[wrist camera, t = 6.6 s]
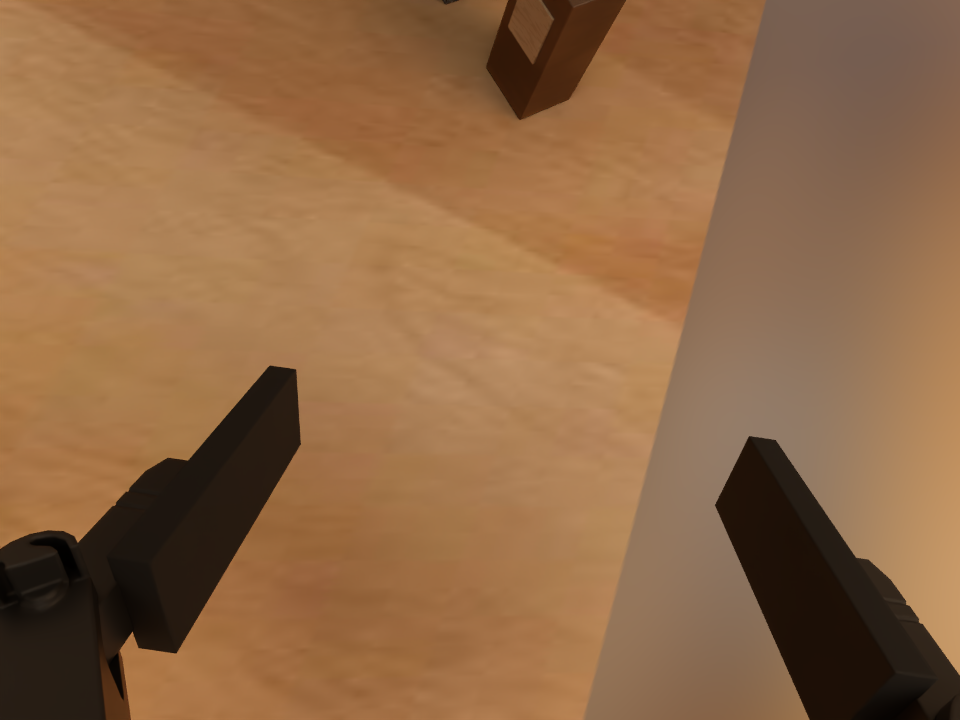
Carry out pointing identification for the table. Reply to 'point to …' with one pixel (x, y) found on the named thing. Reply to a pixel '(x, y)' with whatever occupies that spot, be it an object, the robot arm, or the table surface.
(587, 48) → the line block
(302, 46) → the table surface
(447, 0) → the line block
